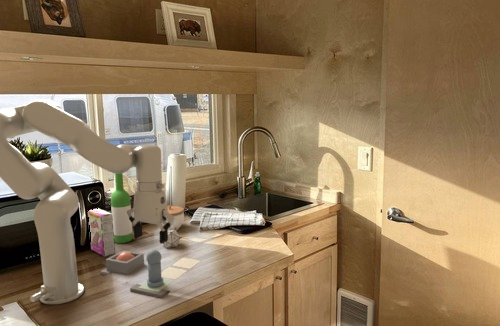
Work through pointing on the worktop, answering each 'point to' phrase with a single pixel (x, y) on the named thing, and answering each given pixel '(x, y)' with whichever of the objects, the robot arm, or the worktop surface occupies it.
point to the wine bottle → (121, 212)
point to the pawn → (154, 269)
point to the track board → (167, 273)
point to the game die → (172, 239)
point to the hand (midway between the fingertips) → (150, 239)
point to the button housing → (123, 263)
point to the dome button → (124, 256)
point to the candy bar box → (101, 232)
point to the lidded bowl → (176, 216)
